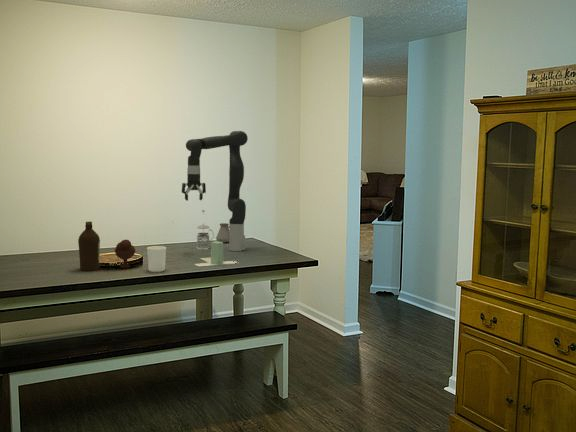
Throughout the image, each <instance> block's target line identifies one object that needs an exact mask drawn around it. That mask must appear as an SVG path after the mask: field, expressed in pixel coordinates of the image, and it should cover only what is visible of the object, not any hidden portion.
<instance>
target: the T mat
mask: <svg viewBox="0 0 576 432" xmlns="http://www.w3.org/2000/svg"><path fill="white" fill-rule="evenodd" d="M199 259H200V260H203V261H204V262H201V263H194V265H195V266H196V267H209V266H217V265H216V264H211V256H210V257H202V258H201V257H199ZM233 261H234V262H233ZM237 262H238V261H236V260H228V261H227V260H226V261H223V263H222V264H219V265H218V266H223V265H233V264H234V265H235V263H237ZM237 264H238V263H237Z"/></svg>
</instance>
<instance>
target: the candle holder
mask: <svg viewBox="0 0 576 432" xmlns="http://www.w3.org/2000/svg"><path fill="white" fill-rule="evenodd" d="M146 251H147V265H148V266H147V268H148V271H149V272H152V273H158V272H159V273H160V272H165V270H166V258H167V257H166V256H167V247H166V246H160V245H155V246H148V247H146Z"/></svg>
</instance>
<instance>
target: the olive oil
mask: <svg viewBox="0 0 576 432" xmlns="http://www.w3.org/2000/svg"><path fill="white" fill-rule="evenodd" d="M84 227H85V229H84V230H83V231H82V232H81V234H80V235H79V236H78V240H77V241H78V243H77V245H78V254H79V255H78V256H79V268H80V271H82V272H93V271H97V270H98V271H99V269H100V255H101V254H100V249H101V245H100V244H101V239H100V236H99V234H98V233H97V232H96V231H94V229H93V222H92V221H85V226H84Z"/></svg>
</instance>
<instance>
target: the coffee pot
mask: <svg viewBox="0 0 576 432" xmlns="http://www.w3.org/2000/svg"><path fill="white" fill-rule="evenodd" d="M216 234H217V235H216V236H215V241H217V242H229V223H227V222H226V223H224V222H223V223H219V229H218V233H216Z"/></svg>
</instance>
